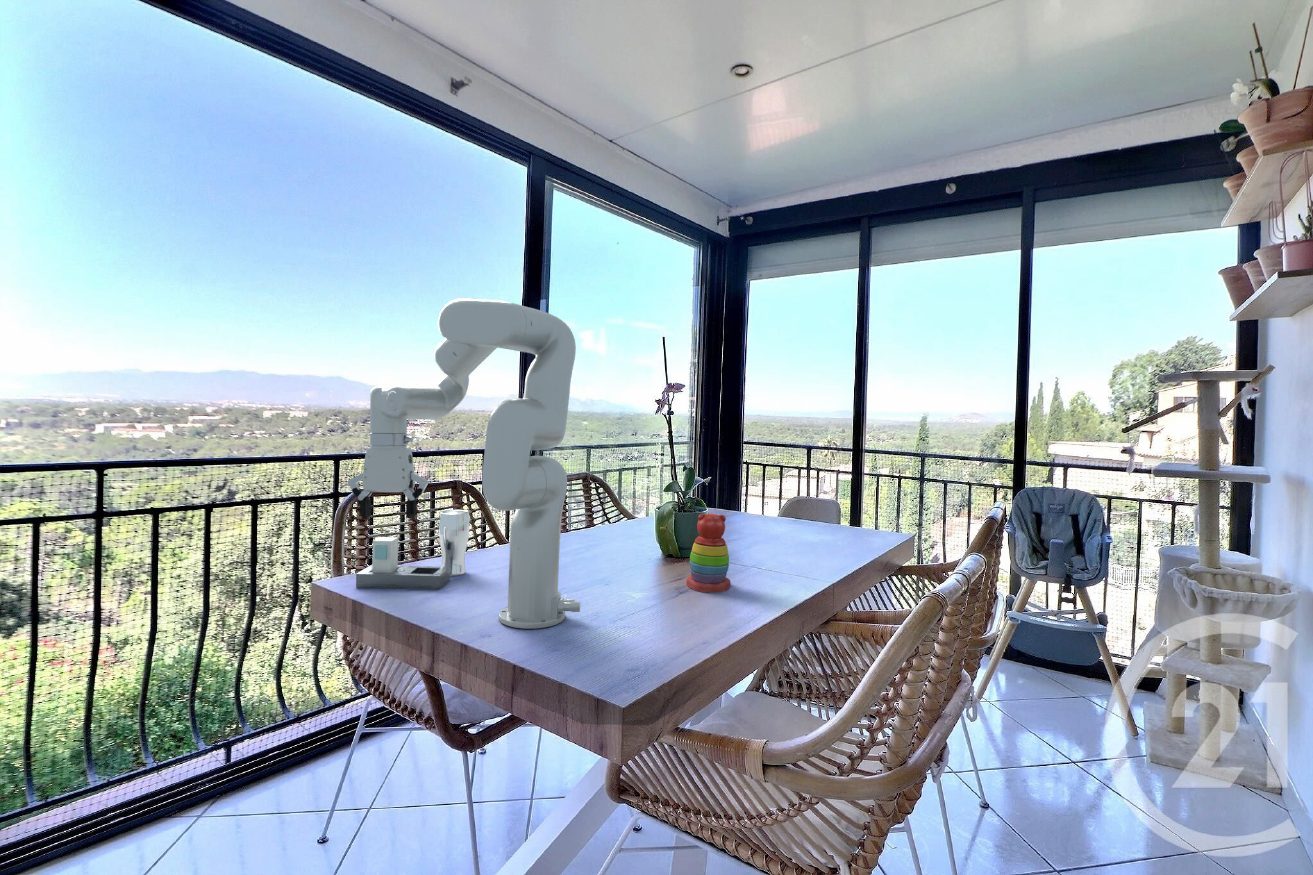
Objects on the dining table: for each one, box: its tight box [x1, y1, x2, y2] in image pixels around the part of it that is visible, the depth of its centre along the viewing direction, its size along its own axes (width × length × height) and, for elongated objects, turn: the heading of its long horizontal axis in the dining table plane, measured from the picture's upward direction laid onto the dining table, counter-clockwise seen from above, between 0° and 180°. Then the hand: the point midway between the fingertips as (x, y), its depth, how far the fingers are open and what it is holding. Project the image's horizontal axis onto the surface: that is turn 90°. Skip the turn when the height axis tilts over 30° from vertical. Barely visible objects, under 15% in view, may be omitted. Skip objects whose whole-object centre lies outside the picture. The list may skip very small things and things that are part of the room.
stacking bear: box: [685, 513, 732, 593], centre depth 143 cm, size 11×10×18 cm
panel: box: [355, 564, 451, 591], centre depth 135 cm, size 18×8×3 cm, turn 93°
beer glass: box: [438, 509, 470, 577], centre depth 146 cm, size 7×7×15 cm
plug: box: [371, 536, 399, 573], centre depth 135 cm, size 4×5×10 cm
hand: (388, 517), depth 134 cm, fingers open, 9 cm apart
